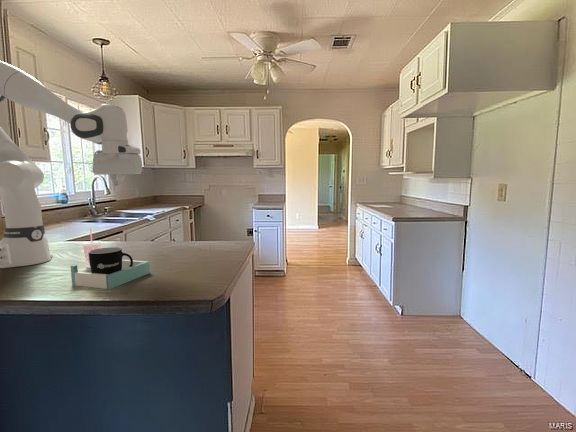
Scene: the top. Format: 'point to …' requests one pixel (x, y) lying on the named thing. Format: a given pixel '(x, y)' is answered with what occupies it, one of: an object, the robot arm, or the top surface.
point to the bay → (110, 275)
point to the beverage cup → (90, 248)
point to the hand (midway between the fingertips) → (118, 186)
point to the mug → (107, 260)
